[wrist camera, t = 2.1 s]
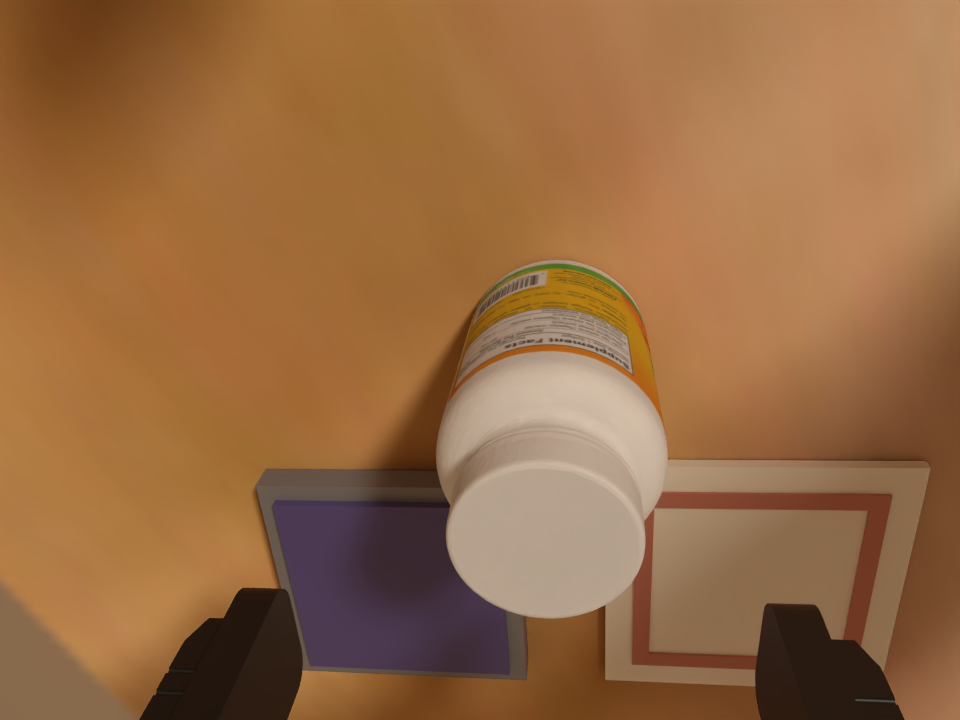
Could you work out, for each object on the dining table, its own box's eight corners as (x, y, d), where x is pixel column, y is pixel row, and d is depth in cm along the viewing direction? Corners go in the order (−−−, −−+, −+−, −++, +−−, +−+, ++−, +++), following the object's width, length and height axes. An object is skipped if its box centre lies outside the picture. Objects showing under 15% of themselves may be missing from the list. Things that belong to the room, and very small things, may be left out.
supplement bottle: (610, 431, 25) (627, 674, 16) (452, 385, 25) (385, 604, 16) (672, 284, 22) (730, 479, 14) (496, 232, 22) (446, 397, 14)
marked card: (925, 461, 24) (932, 470, 24) (875, 683, 29) (879, 693, 28) (605, 459, 25) (606, 467, 25) (605, 671, 30) (605, 681, 29)
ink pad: (516, 471, 26) (513, 494, 25) (528, 659, 30) (526, 686, 29) (266, 469, 27) (252, 491, 26) (309, 650, 31) (299, 676, 30)
